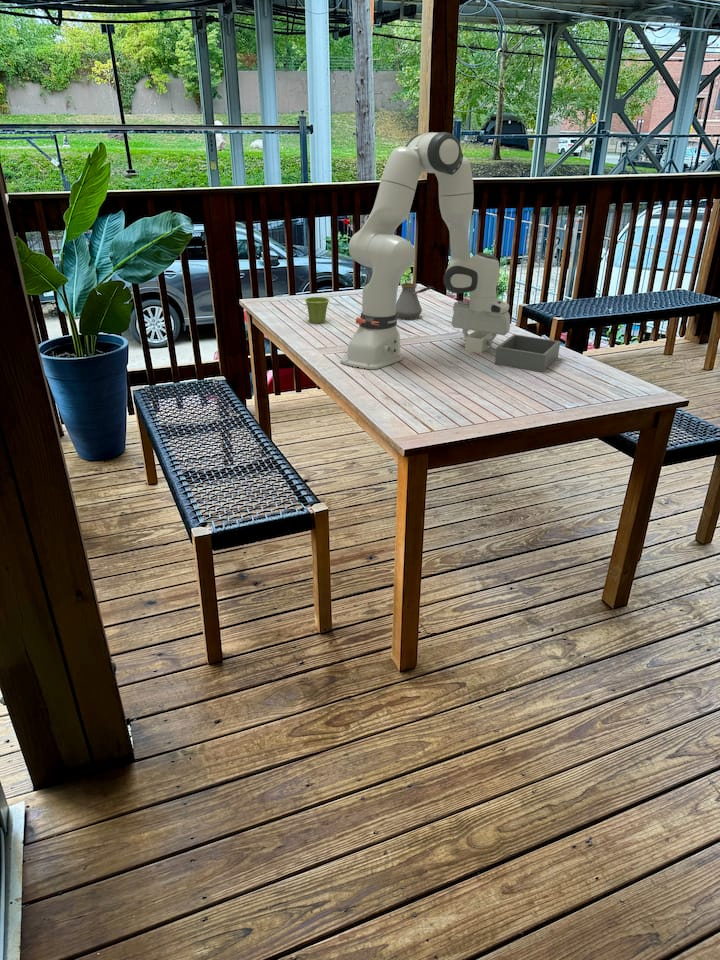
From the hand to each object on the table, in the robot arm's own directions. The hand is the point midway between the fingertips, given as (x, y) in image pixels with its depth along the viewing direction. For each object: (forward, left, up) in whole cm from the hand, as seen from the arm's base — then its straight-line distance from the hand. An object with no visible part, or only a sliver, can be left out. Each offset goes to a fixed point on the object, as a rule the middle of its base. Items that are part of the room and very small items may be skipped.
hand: (478, 343), depth 228 cm
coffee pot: (+24, +36, -2) cm, 43 cm away
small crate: (0, 0, -2) cm, 2 cm away
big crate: (-5, -19, -2) cm, 20 cm away
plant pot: (0, +67, -2) cm, 67 cm away
